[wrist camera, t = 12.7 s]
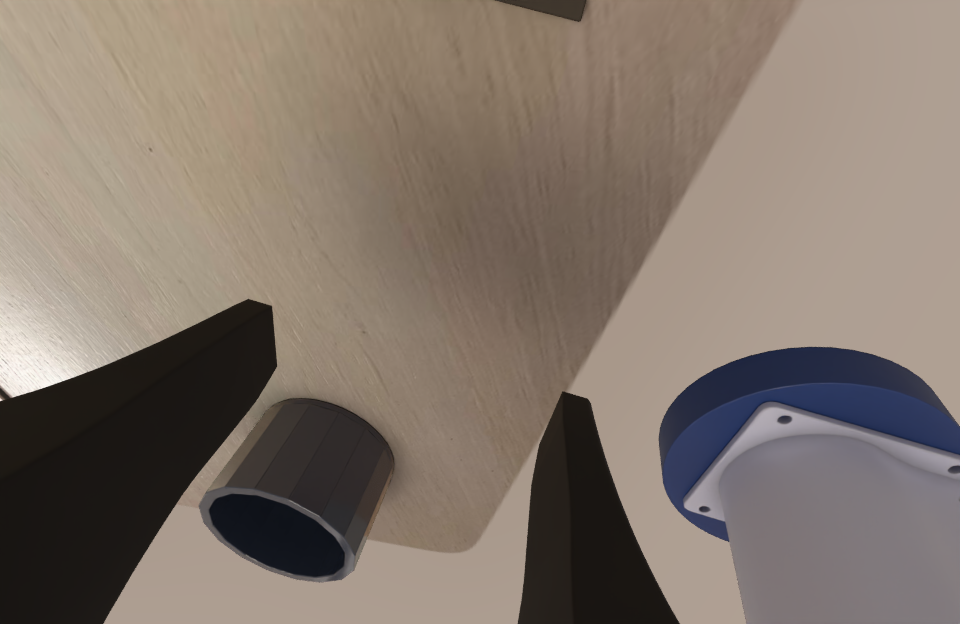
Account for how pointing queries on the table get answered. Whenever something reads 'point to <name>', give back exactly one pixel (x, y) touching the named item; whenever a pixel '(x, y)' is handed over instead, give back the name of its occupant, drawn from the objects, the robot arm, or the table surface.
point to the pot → (301, 491)
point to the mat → (553, 7)
